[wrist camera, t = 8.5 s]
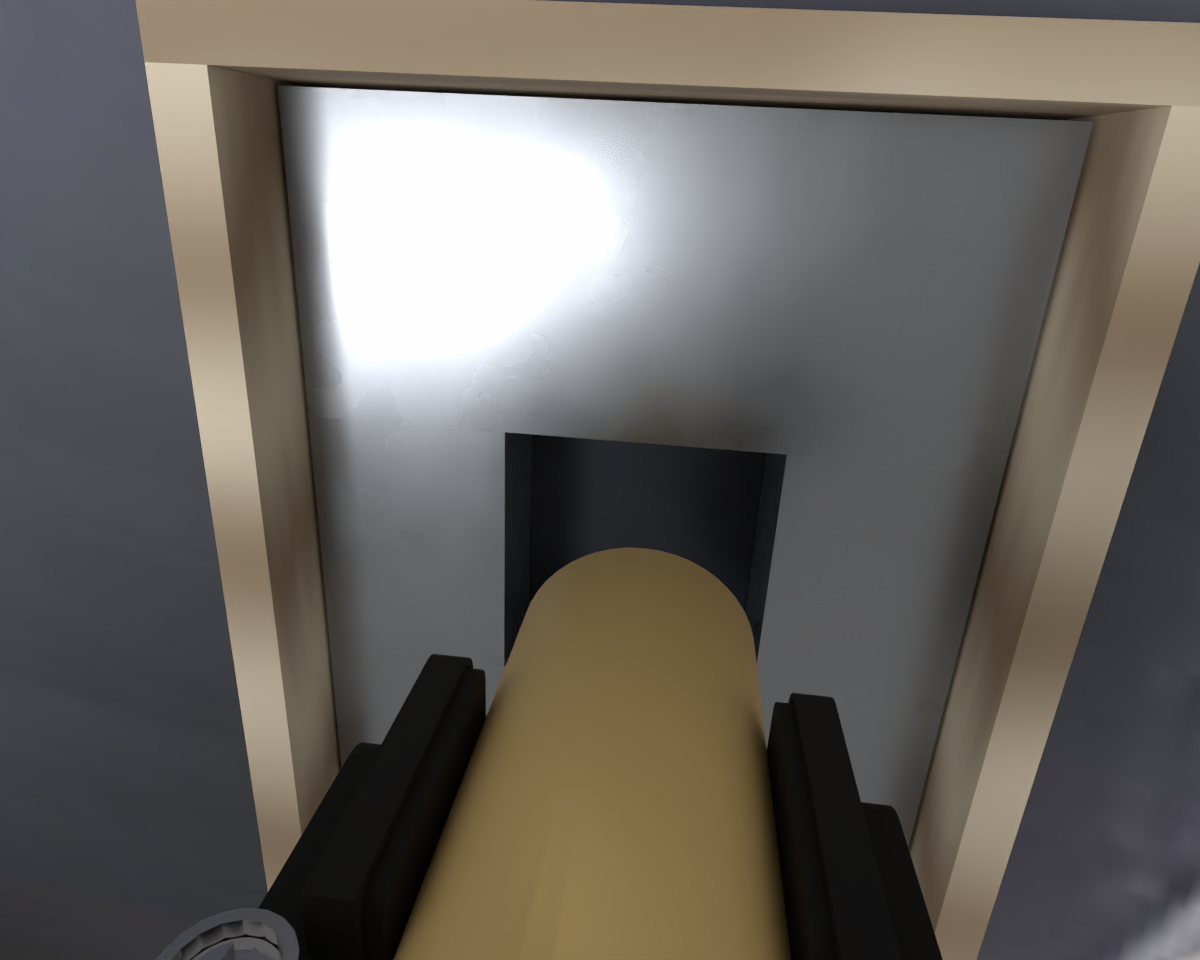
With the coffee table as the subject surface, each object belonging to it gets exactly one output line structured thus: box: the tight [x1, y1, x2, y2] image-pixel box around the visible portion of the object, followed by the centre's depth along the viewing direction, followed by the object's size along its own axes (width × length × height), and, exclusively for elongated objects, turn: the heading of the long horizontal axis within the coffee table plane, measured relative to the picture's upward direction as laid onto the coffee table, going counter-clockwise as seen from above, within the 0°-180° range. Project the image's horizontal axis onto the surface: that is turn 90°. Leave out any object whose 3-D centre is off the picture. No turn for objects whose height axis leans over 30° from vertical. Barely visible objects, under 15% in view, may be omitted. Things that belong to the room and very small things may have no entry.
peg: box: [393, 547, 792, 960], centre depth 9 cm, size 4×4×10 cm
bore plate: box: [277, 86, 1093, 847], centre depth 18 cm, size 18×14×3 cm
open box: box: [136, 0, 1200, 960], centre depth 17 cm, size 20×16×5 cm
